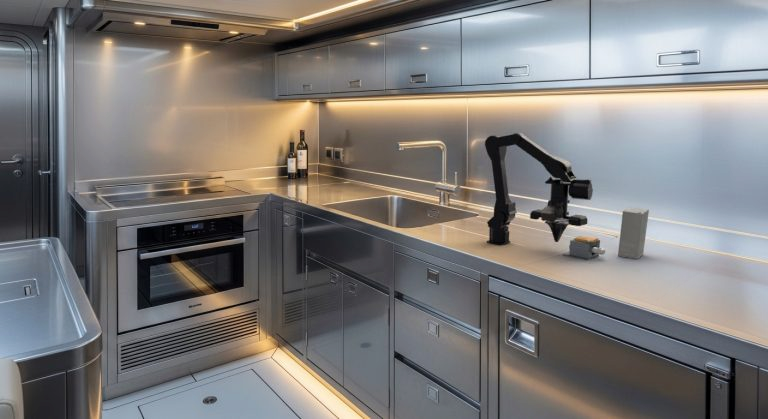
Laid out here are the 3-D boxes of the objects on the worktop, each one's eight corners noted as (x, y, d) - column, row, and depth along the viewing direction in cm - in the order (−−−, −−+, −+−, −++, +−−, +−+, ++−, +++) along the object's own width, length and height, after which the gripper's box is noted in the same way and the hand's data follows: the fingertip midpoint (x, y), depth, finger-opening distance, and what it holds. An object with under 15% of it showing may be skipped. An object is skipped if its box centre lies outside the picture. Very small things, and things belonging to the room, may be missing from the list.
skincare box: (623, 251, 185) (627, 206, 182) (646, 254, 180) (650, 208, 177) (616, 256, 178) (620, 209, 175) (639, 259, 174) (643, 212, 171)
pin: (568, 252, 181) (569, 241, 180) (574, 250, 183) (574, 240, 182) (602, 258, 172) (602, 247, 172) (606, 256, 175) (607, 245, 174)
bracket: (562, 255, 180) (563, 236, 179) (573, 250, 185) (574, 233, 184) (588, 260, 174) (589, 241, 173) (599, 255, 179) (600, 237, 178)
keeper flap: (574, 240, 178) (574, 238, 178) (580, 238, 181) (580, 236, 181) (591, 242, 174) (591, 240, 174) (597, 240, 177) (597, 238, 177)
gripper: (522, 196, 184) (520, 241, 187) (573, 203, 171) (570, 250, 173) (539, 193, 191) (537, 236, 194) (589, 199, 178) (586, 245, 181)
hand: (556, 241), depth 185 cm, fingers closed
